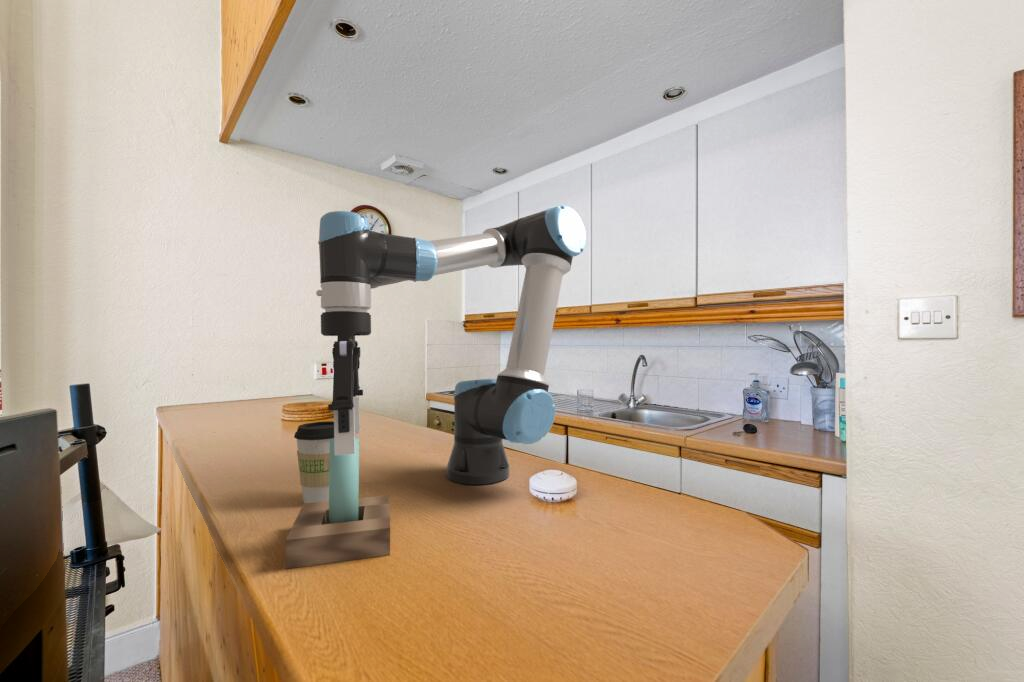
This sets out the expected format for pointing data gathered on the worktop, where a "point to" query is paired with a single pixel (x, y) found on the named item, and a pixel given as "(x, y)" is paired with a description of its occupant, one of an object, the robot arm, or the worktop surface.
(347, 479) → the peg
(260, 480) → the worktop surface
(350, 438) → the robot arm
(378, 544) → the socket block
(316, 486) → the coffee cup
